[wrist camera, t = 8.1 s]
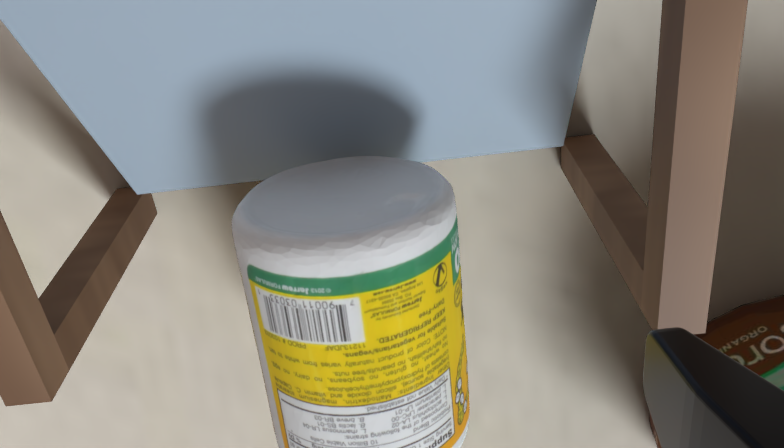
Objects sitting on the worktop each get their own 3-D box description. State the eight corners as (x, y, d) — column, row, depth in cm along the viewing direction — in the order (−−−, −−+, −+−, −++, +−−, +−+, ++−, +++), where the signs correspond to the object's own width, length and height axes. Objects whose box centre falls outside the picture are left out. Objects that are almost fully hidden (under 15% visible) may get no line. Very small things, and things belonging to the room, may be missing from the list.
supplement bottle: (273, 268, 13) (339, 610, 17) (503, 193, 16) (515, 513, 20) (200, 187, 18) (266, 475, 22) (387, 137, 20) (416, 408, 24)
